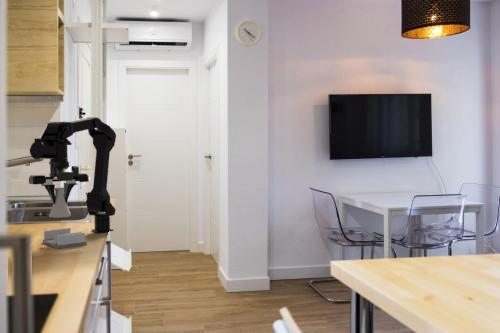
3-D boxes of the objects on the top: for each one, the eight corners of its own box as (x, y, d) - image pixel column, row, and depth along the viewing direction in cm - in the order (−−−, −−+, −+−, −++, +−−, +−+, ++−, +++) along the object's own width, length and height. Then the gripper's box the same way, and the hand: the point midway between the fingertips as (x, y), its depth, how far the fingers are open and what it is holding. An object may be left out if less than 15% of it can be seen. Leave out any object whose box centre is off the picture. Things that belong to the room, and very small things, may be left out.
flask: (74, 215, 186) (74, 187, 185) (65, 218, 179) (64, 188, 178) (55, 215, 187) (54, 187, 186) (44, 218, 179) (44, 188, 179)
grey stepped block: (42, 242, 182) (42, 230, 182) (71, 238, 188) (71, 227, 188) (56, 248, 171) (56, 236, 171) (86, 244, 178) (86, 232, 177)
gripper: (37, 159, 170) (38, 208, 170) (94, 158, 181) (95, 203, 182) (27, 159, 178) (28, 205, 179) (82, 157, 190) (83, 201, 191)
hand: (59, 203), depth 182 cm, fingers closed on flask, 3 cm apart
